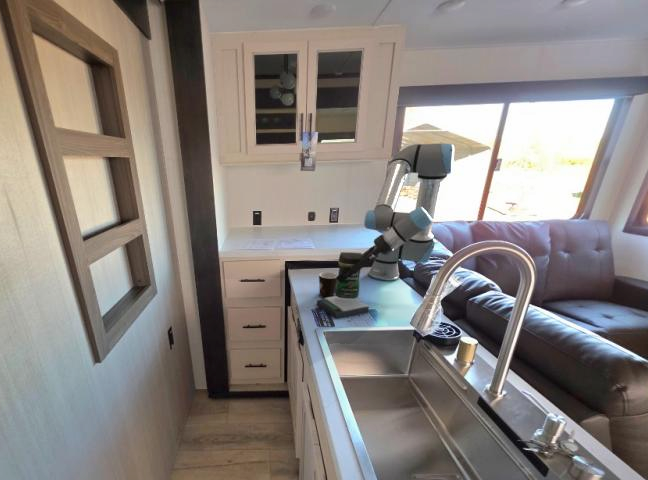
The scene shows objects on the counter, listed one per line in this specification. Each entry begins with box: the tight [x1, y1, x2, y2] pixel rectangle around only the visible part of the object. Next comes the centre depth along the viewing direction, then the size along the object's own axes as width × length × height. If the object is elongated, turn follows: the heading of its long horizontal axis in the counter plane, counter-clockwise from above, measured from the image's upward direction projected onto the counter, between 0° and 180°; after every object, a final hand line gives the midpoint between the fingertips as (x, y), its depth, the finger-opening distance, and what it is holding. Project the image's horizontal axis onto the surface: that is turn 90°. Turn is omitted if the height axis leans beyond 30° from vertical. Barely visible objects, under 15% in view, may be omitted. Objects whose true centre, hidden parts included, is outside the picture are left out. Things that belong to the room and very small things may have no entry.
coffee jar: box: [334, 251, 363, 299], centre depth 128 cm, size 10×8×19 cm
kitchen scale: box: [316, 295, 370, 320], centre depth 133 cm, size 16×14×3 cm
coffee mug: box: [318, 271, 338, 299], centre depth 146 cm, size 12×9×10 cm
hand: (340, 276), depth 129 cm, fingers closed on coffee jar, 8 cm apart
